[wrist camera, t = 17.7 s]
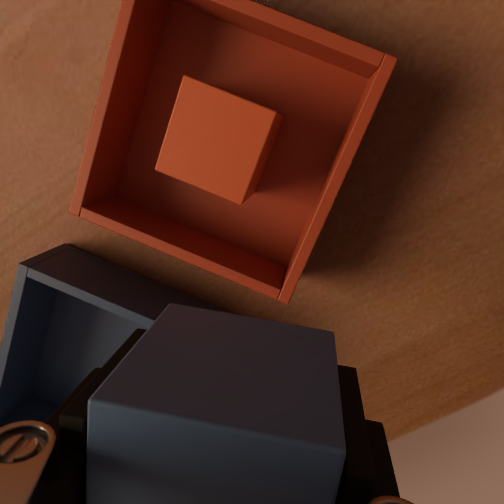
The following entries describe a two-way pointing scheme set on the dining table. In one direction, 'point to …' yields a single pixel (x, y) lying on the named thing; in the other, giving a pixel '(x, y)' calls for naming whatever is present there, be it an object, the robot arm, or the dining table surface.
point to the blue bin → (70, 326)
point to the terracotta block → (218, 140)
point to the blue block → (218, 415)
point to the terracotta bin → (248, 87)
